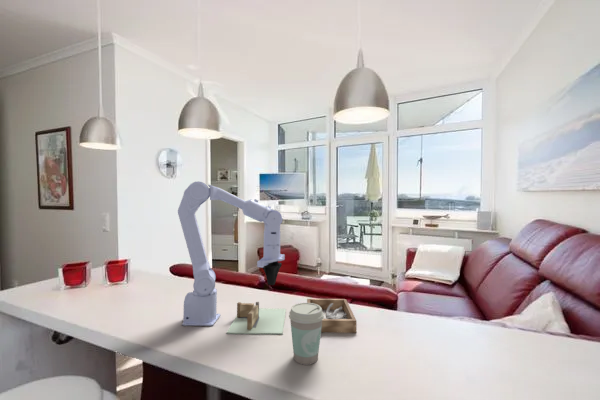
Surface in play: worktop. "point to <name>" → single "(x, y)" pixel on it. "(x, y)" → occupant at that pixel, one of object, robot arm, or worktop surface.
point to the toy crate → (336, 324)
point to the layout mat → (261, 323)
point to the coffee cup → (306, 331)
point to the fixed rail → (245, 309)
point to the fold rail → (252, 317)
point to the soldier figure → (334, 313)
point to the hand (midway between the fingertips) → (271, 284)
